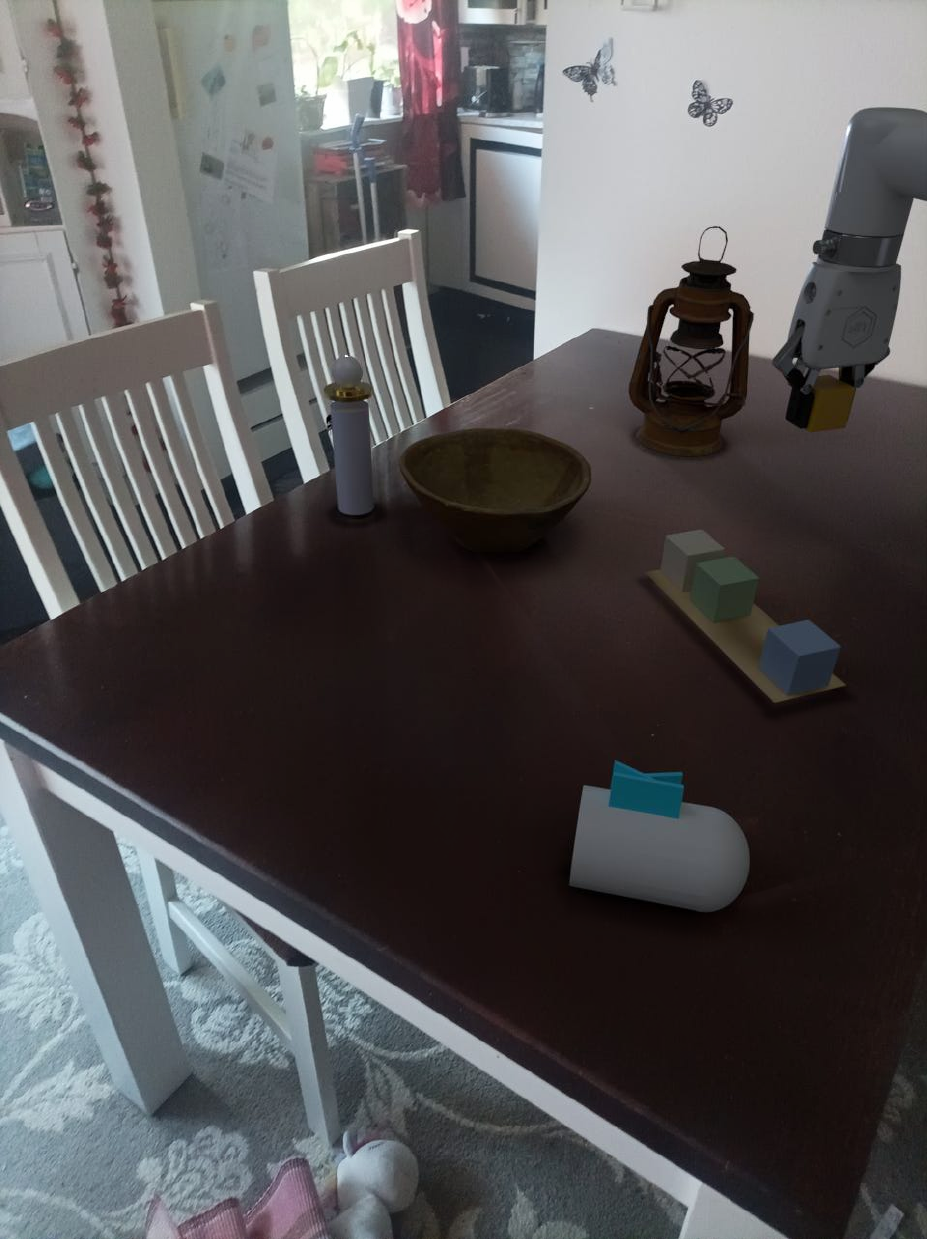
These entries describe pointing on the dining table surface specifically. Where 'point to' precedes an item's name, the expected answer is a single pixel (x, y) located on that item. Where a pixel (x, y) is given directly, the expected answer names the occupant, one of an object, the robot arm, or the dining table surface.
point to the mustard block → (830, 404)
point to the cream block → (687, 556)
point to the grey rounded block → (657, 844)
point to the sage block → (723, 589)
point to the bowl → (495, 485)
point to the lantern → (700, 311)
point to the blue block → (798, 657)
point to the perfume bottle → (351, 436)
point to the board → (737, 639)
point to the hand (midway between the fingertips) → (816, 419)
